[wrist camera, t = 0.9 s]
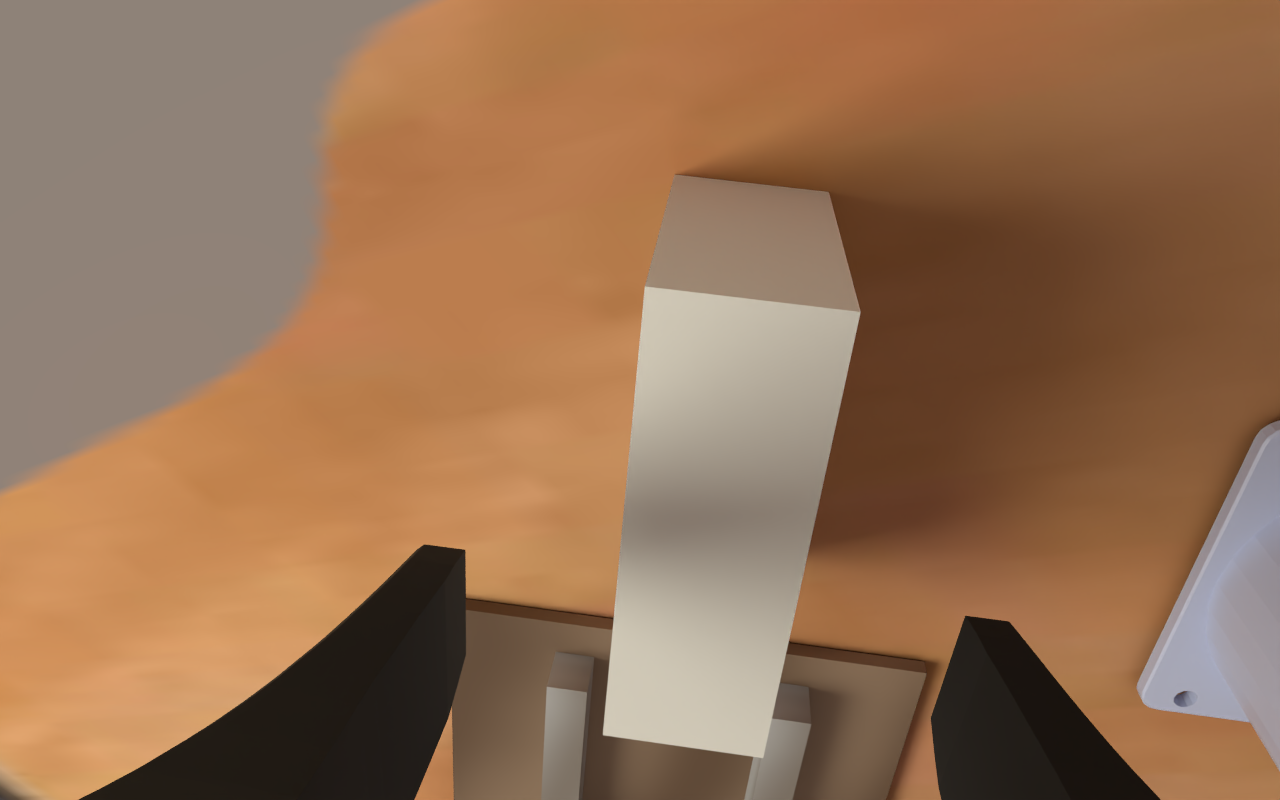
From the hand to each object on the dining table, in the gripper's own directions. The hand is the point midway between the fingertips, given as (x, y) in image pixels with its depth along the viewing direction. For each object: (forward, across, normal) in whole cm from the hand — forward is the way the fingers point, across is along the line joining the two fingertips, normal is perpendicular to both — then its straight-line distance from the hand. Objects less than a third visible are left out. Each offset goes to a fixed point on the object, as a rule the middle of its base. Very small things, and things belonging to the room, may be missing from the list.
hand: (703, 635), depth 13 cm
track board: (+8, 0, +15) cm, 17 cm away
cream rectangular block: (+8, 0, 0) cm, 8 cm away
